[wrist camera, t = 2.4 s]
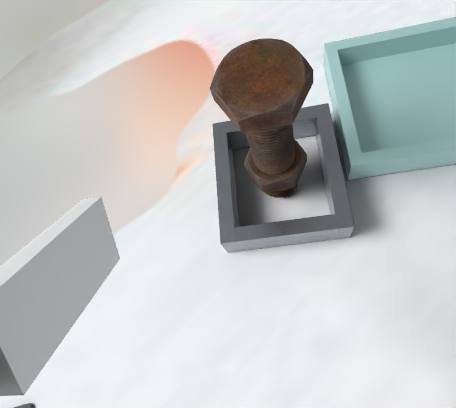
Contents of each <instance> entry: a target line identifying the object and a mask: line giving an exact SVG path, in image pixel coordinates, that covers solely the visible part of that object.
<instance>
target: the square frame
mask: <svg viewBox="0 0 456 408" xmlns="http://www.w3.org/2000/svg"><path fill="white" fill-rule="evenodd" d="M293 134H294V139H297V138H303V137H309V136H315V135H316V138H317V143H318V149H319V154H320V159H321V165H322V170H323V175H324V181H325V186H326V191H327V197H328V202H329V207H330V213H331V215H325V216H317V217H310V218H302V219H295V220H287V221H280V222H272V223H264V224H257V225H249V226H242V227H239V216H238V205H237V193H236V182H235V171H234V159H233V149H237V148H243V147H249V146H250V145H249V142H248V139H247V135H246V132H240V131H239V129H238V128H237V127H236V126H235V125H234V123H233V122H232V121H226V122H221V123H215V124H213V136H214V151H215V166H216V181H217V196H218V211H219V226H220V241H221V245H222V246H223V247H224V248H225V249H226V251H227V252H228V253H229V252H237V251H245V250H253V249H261V248H269V247H278V246H286V245H294V244H302V243H310V242H319V241H327V240H335V239H343V238H350V237H351V234H352V231H353V229H354V224H353V219H352V214H351V209H350V205H349V200H348V195H347V190H346V185H345V181H344V176H343V171H342V166H341V162H340V157H339V152H338V147H337V142H336V138H335V133H334V128H333V123H332V119H331V114H330V109H329V104H328V103H327V104H322V105H316V106H310V107H305V108H301V109H300V111H299V113H298V115H297V117H296V119H295V121H294V123H293Z"/></svg>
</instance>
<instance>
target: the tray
mask: <svg viewBox="0 0 456 408" xmlns="http://www.w3.org/2000/svg"><path fill="white" fill-rule="evenodd" d="M323 65H324V69H325V74H326V79H327V83H328V88H329V93H330V97H331V102H332V107H333V112H334V116H335V121H336V126H337V130H338V135H339V140H340V144H341V149H342V154H343V158H344V163H345V168H346V172H347V177H348V180H352V179H358V178H365V177H372V176H379V175H386V174H393V173H400V172H407V171H413V170H420V169H427V168H434V167H441V166H448V165H455V164H456V17H454V18H449V19H444V20H439V21H434V22H429V23H424V24H419V25H415V26H410V27H405V28H400V29H395V30H390V31H385V32H380V33H375V34H370V35H365V36H360V37H355V38H350V39H346V40H341V41H336V42H331V43H326V44H324V63H323Z"/></svg>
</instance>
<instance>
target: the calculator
mask: <svg viewBox="0 0 456 408" xmlns="http://www.w3.org/2000/svg"><path fill="white" fill-rule="evenodd" d="M15 408H33V405H32V404H31V403H30V404H24V405H21V406H18V407H15Z"/></svg>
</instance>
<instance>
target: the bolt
mask: <svg viewBox="0 0 456 408" xmlns="http://www.w3.org/2000/svg"><path fill="white" fill-rule="evenodd" d="M312 84H313V69H312V67H311V66H310V65H309V63H308V62H307V60H306V59H305V58H304V57H303V56H302V55H301V53H300V52H299V51H298V50H297V49H296V48H295V47H293V46H292V45H291V44H289V43H287V42H285V41H283V40H278V39H257V40H252V41H249V42H246V43H244V44H241V45H240V46H238V47H236V48H234V49H232V50H231V51H230V52H229V53H228V54H227V55H226V56H225V57H224V58H223V60H222V61H221V63H220V64H219V66H218V68H217V70H216V73H215V75H214V77H213V80H212V83H211V86H210V90H211V93H212V96H213V98H214V100H215V102H216V103H217V104H218V105H219V106H220V108H221V109H222V110H223V111H224V112H225V114H226V115H227V116H228V117H229V118H230V120H231V121H232V122H233V123H234V125H235V126H236V127H237V128H238V129H239V131H240V132H246V135H247V139H248V142H249V145H250V149H249V151H248V154H247V156H246V159H245V161H244V166H245V169H246V171H247V172H248V174H249V175H250V176H251V178H252V179H253V180H254V182H255V183H256V184H257V185H258V187H259V188H260V189H261V190H262V191H264V192H265V193H266V194H268V195H269V196H272V197H285V198H286V197H289V196H291V195H292V194H293V193H294V189H295V188H296V187H297V182H298V180H299V178H300V176H301V174H302V172H303V170H304V167H305V164H306V162H307V154H306V153H305V152H304V150H303V149H302V147H301V146H300V145H299V144H298V142H297V141H296V140H295V139H294V134H293V123H294V121H295V119H296V117H297V115H298V113H299V111H300V109H301V107H302V105H303V102H304V100H305V98H306V96H307V94H308V92H309V90H310V88H311V86H312Z"/></svg>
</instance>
